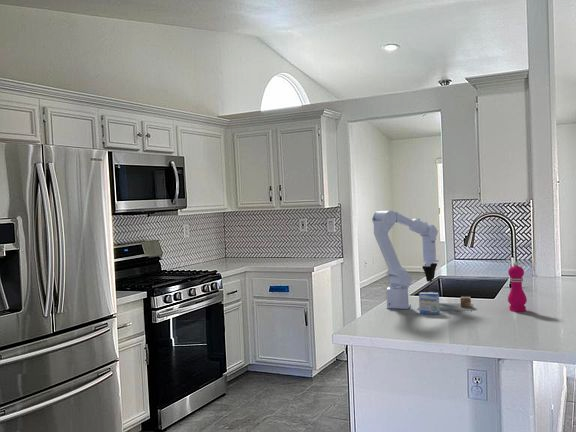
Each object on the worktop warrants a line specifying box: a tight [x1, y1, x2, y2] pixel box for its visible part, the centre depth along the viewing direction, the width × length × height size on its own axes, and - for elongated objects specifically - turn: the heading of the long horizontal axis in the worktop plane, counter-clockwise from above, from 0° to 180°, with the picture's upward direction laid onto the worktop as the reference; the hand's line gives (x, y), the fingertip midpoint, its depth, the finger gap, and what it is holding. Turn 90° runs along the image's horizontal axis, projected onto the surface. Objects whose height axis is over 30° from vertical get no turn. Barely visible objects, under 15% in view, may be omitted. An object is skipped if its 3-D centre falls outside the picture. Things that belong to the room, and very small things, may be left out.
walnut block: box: [460, 296, 472, 308], centre depth 230 cm, size 4×4×4 cm
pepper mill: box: [507, 261, 528, 313], centre depth 219 cm, size 7×7×20 cm
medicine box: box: [418, 291, 441, 315], centre depth 221 cm, size 8×4×9 cm, turn 69°
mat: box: [416, 302, 473, 312], centre depth 232 cm, size 22×15×1 cm
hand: (430, 280), depth 243 cm, fingers open, 7 cm apart
